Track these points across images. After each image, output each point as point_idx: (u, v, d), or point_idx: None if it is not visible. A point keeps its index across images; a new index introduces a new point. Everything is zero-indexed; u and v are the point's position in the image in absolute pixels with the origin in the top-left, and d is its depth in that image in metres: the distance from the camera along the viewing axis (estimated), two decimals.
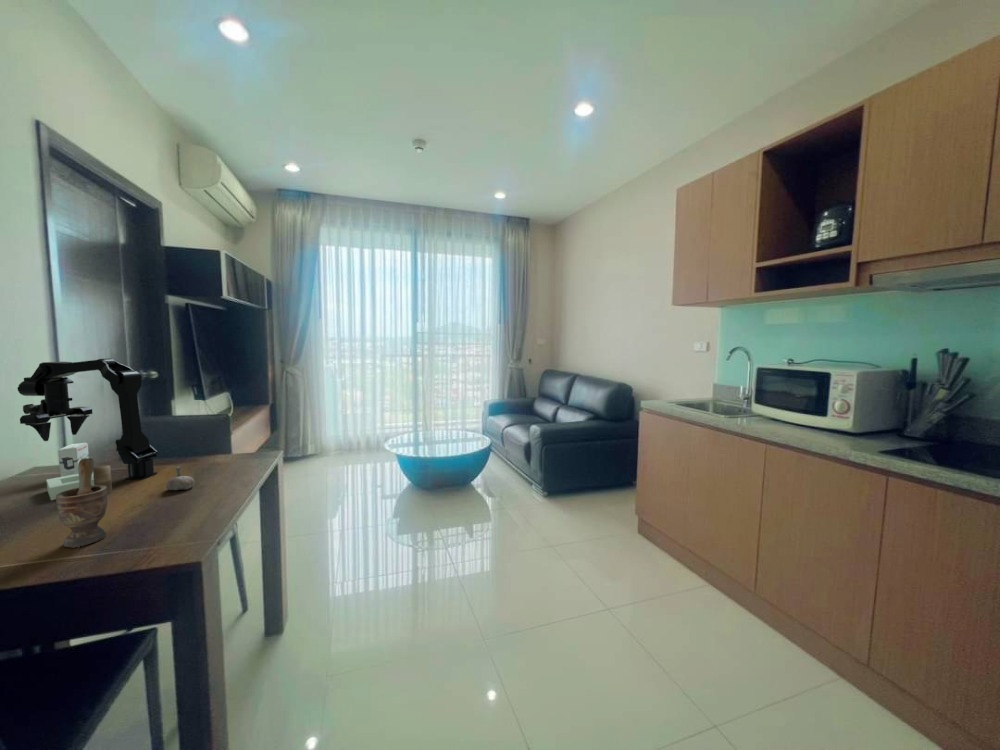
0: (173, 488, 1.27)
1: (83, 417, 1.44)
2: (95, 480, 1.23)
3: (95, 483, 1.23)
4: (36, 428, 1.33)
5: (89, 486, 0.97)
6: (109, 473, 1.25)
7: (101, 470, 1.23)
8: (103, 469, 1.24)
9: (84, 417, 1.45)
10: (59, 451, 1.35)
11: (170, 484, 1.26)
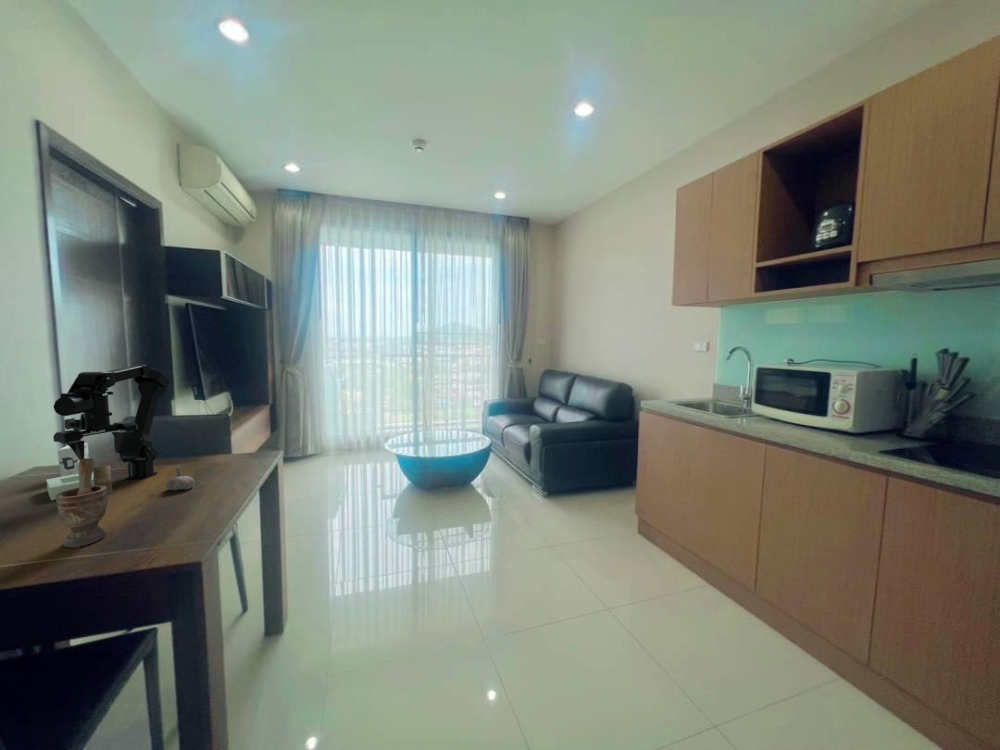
0: (173, 488, 1.27)
1: (125, 434, 1.29)
2: (95, 480, 1.23)
3: (95, 483, 1.23)
4: (71, 446, 1.18)
5: (89, 486, 0.97)
6: (109, 473, 1.25)
7: (101, 470, 1.23)
8: (103, 469, 1.24)
9: (126, 434, 1.29)
10: (59, 451, 1.35)
11: (170, 484, 1.26)
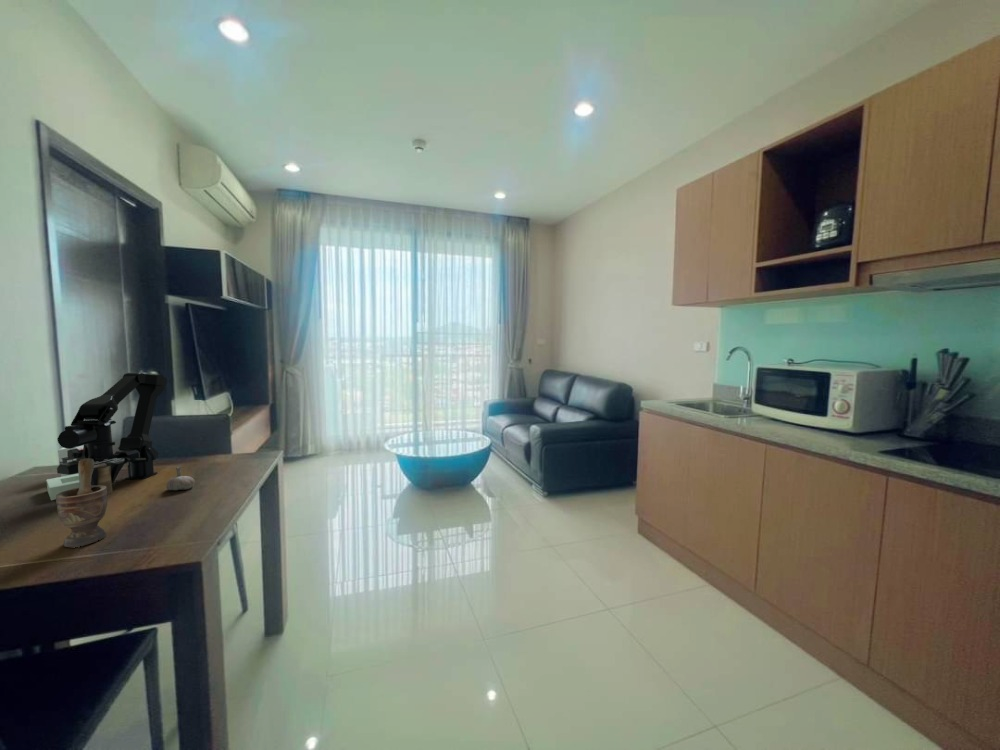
0: (173, 488, 1.27)
1: (119, 464, 1.27)
2: None
3: None
4: None
5: (89, 486, 0.97)
6: (109, 473, 1.25)
7: (101, 470, 1.23)
8: (103, 469, 1.24)
9: (121, 464, 1.27)
10: (59, 451, 1.35)
11: (170, 484, 1.26)
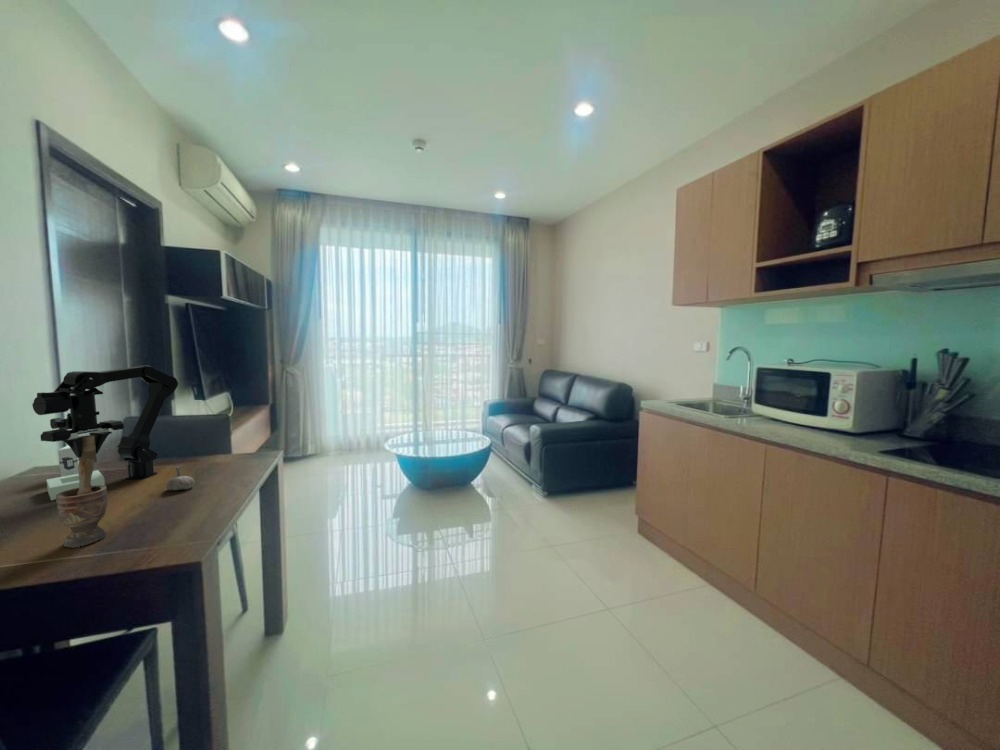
0: (173, 488, 1.27)
1: (104, 434, 1.28)
2: None
3: None
4: (69, 443, 1.22)
5: (89, 486, 0.97)
6: (93, 443, 1.26)
7: (85, 439, 1.24)
8: (87, 438, 1.24)
9: (105, 434, 1.28)
10: (59, 451, 1.35)
11: (170, 484, 1.26)
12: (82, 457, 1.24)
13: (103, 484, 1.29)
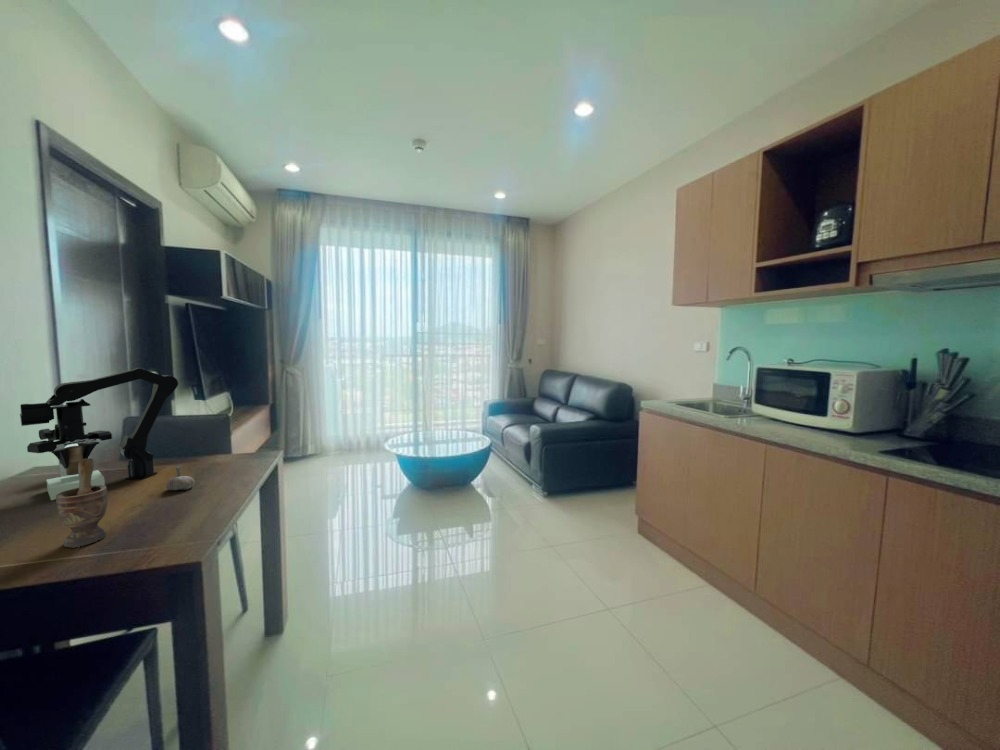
0: (173, 488, 1.27)
1: (91, 445, 1.29)
2: None
3: None
4: (56, 454, 1.24)
5: (89, 486, 0.97)
6: (80, 453, 1.28)
7: (72, 450, 1.25)
8: (74, 449, 1.26)
9: (92, 445, 1.30)
10: None
11: (170, 484, 1.26)
12: (69, 467, 1.25)
13: (103, 484, 1.29)
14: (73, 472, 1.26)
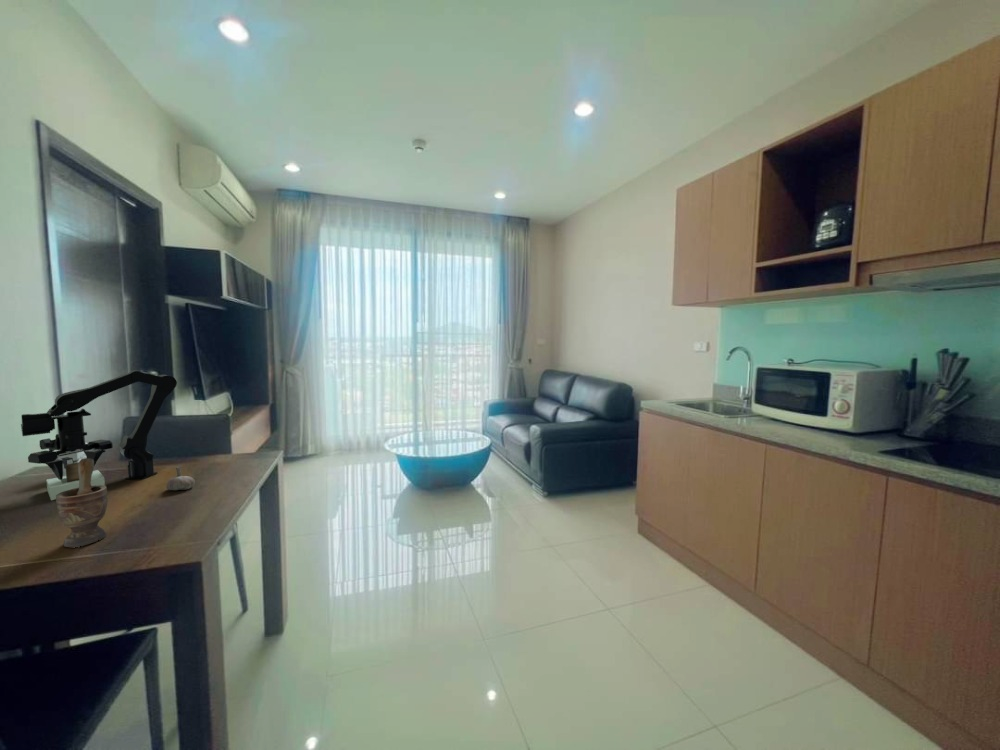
0: (173, 488, 1.27)
1: (97, 453, 1.31)
2: (68, 477, 1.26)
3: (68, 480, 1.26)
4: (50, 466, 1.22)
5: (89, 486, 0.97)
6: None
7: (73, 467, 1.26)
8: (75, 466, 1.26)
9: (99, 453, 1.31)
10: None
11: (170, 484, 1.26)
12: None
13: (103, 484, 1.29)
14: None
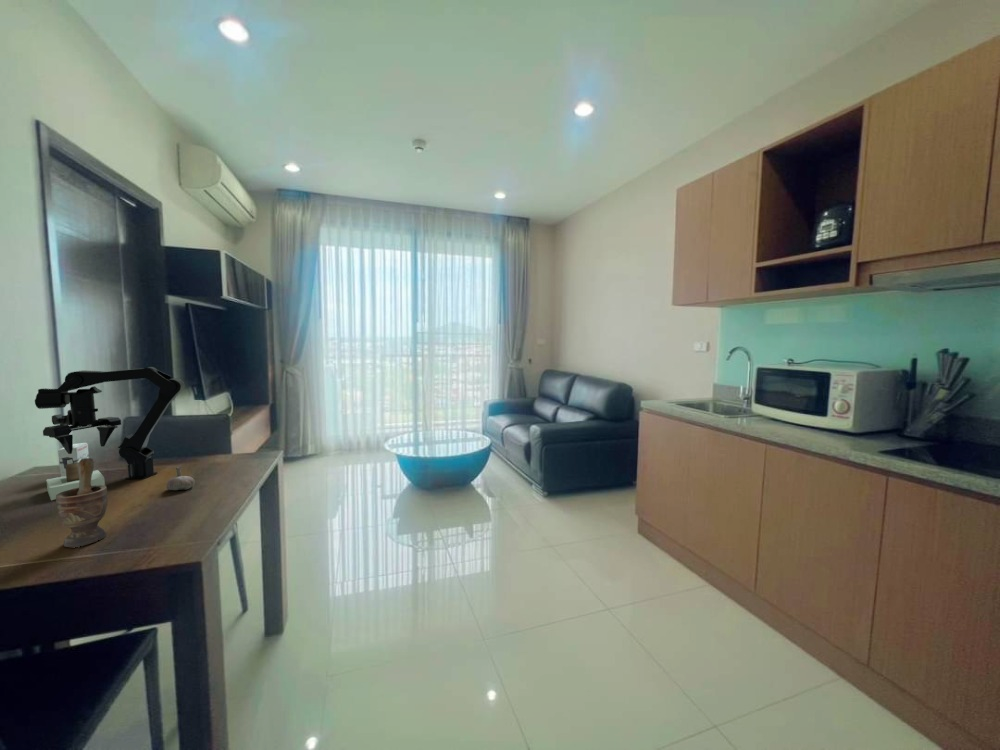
0: (173, 488, 1.27)
1: (110, 428, 1.38)
2: (67, 477, 1.26)
3: (68, 480, 1.26)
4: (60, 440, 1.27)
5: (89, 486, 0.97)
6: None
7: (73, 467, 1.26)
8: (75, 466, 1.26)
9: (111, 428, 1.38)
10: (59, 451, 1.35)
11: (170, 484, 1.26)
12: None
13: (103, 484, 1.29)
14: None
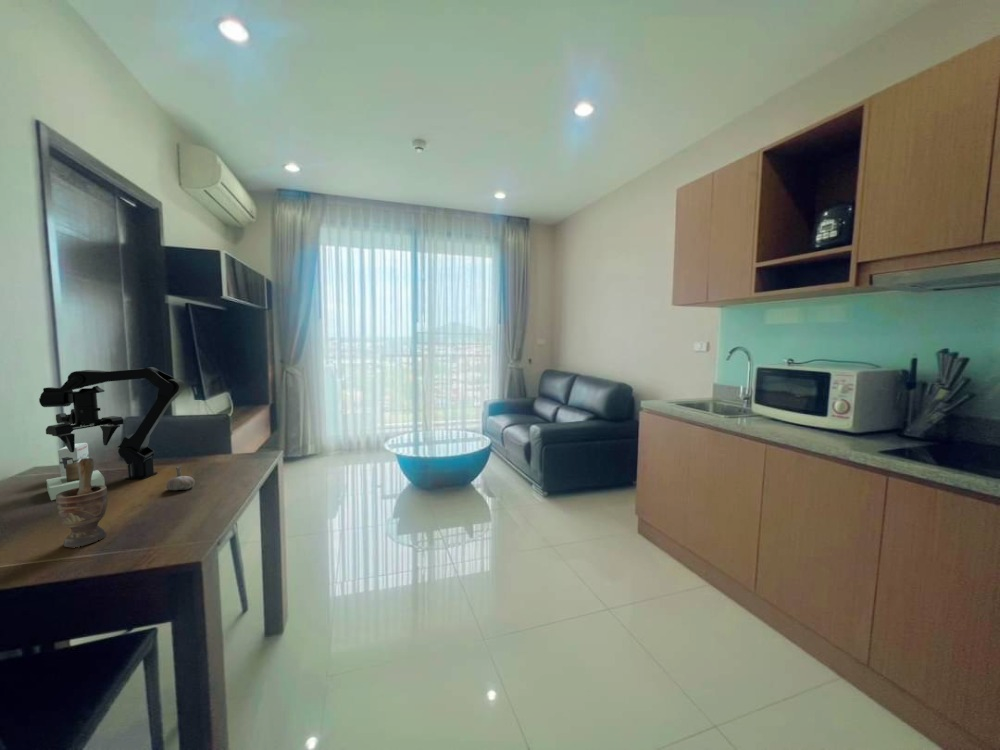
0: (173, 488, 1.27)
1: (113, 427, 1.39)
2: (68, 477, 1.26)
3: (68, 480, 1.26)
4: (62, 439, 1.29)
5: (89, 486, 0.97)
6: None
7: (73, 467, 1.26)
8: (75, 466, 1.26)
9: (114, 427, 1.40)
10: (59, 451, 1.35)
11: (170, 484, 1.26)
12: None
13: (103, 484, 1.29)
14: None
